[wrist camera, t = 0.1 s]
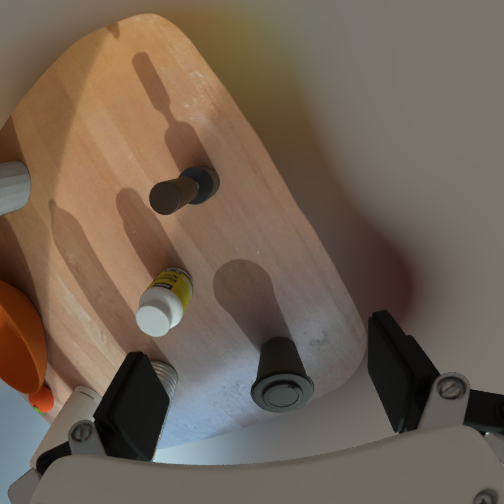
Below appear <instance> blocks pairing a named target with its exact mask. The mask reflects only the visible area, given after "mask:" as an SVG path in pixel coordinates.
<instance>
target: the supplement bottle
mask: <svg viewBox="0 0 504 504" xmlns="http://www.w3.org/2000/svg"><path fill="white" fill-rule="evenodd" d="M193 292H194V284H193V281H192V279H191V277H190V276H189V275H188V274H187V273H186V272H185V271H183V270H181V269H179V268H167V269H165V270H163V271H162V272H161V273H160V274H159V275H158V276H157V277H156V278H155V280H154V281H153V282H152V283H151V284H150V286H149V287H148V288H147V289H146V290H145V291H144V293H143V294H142V296H141V298H140V301H139V309H138V310H137V312H136V322H137V324H138V326H139V328H140V329H141V330H142V331H143V332H145V333H146V334H148V335H150V336H155V337H158V336H163V335H164V334H166V333H167V332H168V330H169V328H172V327H174V326H176V325H177V324H178V323H179V321H180V320H181V318H182V316H183V314H184V312H185V310H186V308H187V306H188V303H189V301H190V299H191V297H192V295H193Z"/></svg>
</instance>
